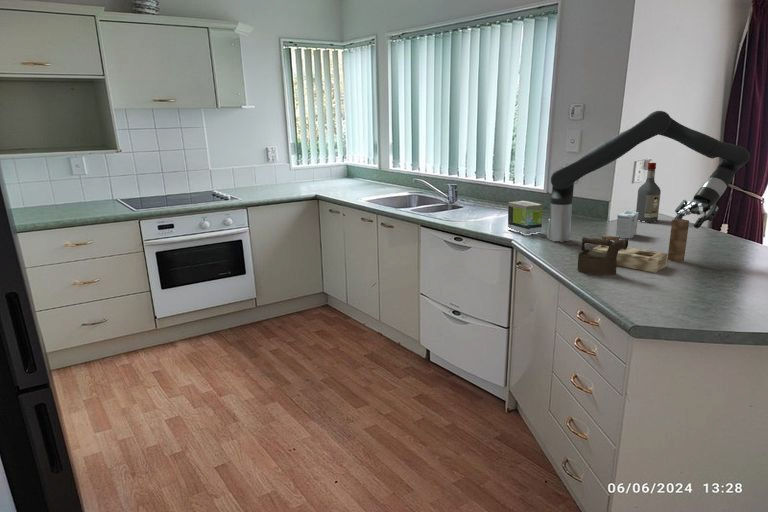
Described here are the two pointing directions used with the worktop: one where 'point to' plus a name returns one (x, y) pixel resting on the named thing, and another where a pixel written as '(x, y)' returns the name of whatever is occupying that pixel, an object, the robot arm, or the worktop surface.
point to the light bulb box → (627, 224)
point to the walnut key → (678, 240)
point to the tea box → (525, 216)
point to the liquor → (648, 197)
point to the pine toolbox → (636, 257)
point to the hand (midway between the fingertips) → (685, 225)
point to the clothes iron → (600, 256)
